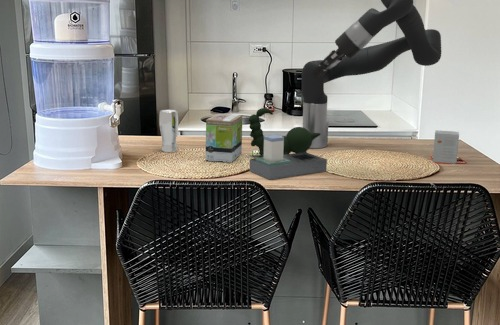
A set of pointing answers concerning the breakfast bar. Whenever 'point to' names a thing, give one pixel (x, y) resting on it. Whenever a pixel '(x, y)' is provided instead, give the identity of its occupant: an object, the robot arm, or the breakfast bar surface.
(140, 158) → the breakfast bar surface
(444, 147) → the small box
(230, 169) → the breakfast bar surface
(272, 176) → the panel
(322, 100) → the robot arm
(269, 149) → the plug
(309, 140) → the toy figurine
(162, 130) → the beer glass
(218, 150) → the tea box
